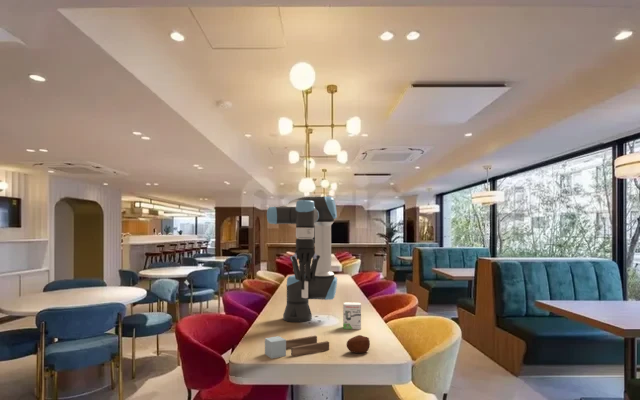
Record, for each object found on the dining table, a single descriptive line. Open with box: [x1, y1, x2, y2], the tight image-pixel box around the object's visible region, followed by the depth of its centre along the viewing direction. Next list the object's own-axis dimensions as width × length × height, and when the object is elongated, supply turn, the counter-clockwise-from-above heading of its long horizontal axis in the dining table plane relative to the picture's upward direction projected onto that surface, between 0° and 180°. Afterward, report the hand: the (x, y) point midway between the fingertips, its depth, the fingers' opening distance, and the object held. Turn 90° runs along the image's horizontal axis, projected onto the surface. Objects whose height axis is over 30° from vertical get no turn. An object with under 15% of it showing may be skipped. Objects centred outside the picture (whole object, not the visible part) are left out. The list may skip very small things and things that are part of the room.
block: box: [264, 335, 287, 359], centre depth 150 cm, size 6×6×6 cm
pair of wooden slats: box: [285, 335, 330, 357], centre depth 157 cm, size 11×16×3 cm
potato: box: [345, 335, 371, 354], centre depth 153 cm, size 7×9×6 cm
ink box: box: [342, 301, 362, 330], centre depth 191 cm, size 9×5×12 cm, turn 88°
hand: (304, 297), depth 158 cm, fingers closed
